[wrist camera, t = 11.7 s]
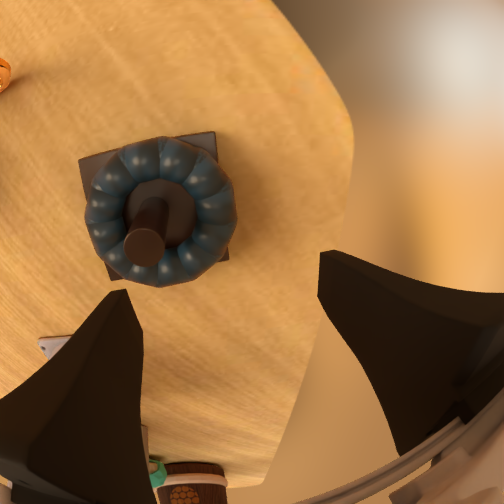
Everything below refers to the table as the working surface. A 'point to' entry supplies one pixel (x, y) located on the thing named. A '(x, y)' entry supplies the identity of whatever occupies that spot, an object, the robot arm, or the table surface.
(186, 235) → the peg stand
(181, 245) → the ring
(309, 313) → the table surface
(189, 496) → the mug
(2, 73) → the ring
